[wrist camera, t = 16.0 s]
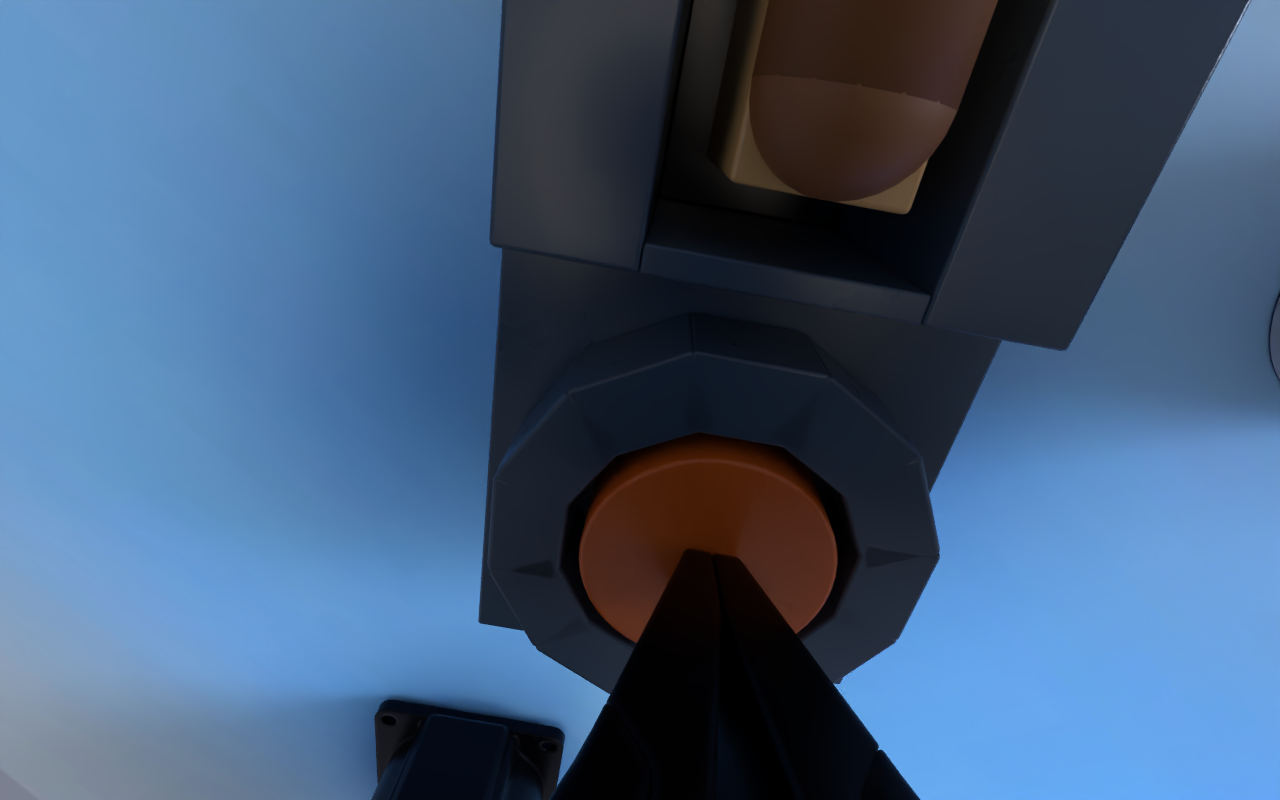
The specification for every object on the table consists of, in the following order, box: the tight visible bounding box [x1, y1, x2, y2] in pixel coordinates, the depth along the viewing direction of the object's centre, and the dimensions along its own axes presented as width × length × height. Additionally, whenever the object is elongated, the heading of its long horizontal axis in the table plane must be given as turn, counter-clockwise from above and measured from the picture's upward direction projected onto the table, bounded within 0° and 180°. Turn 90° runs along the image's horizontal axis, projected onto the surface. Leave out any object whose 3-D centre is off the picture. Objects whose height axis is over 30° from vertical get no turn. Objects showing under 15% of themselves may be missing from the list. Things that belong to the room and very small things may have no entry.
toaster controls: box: [479, 248, 1002, 694], centre depth 12 cm, size 8×8×6 cm
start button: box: [579, 432, 838, 643], centre depth 10 cm, size 4×4×2 cm
